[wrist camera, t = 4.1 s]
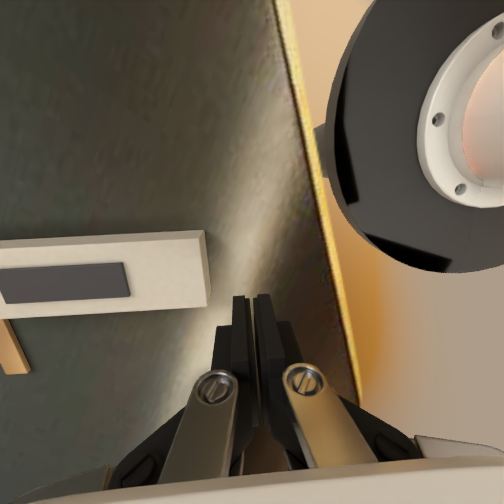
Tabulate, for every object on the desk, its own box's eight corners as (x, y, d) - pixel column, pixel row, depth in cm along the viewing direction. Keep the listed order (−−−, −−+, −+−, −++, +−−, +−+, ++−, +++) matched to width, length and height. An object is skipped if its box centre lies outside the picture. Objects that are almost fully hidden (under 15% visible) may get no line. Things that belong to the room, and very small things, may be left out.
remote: (204, 229, 17) (198, 239, 15) (211, 291, 19) (207, 309, 16) (-26, 241, 17) (-70, 254, 14) (2, 303, 18) (-33, 323, 16)
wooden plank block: (4, 309, 19) (-1, 312, 18) (31, 369, 21) (27, 373, 20) (-20, 311, 18) (-26, 313, 18) (10, 371, 20) (5, 374, 20)
